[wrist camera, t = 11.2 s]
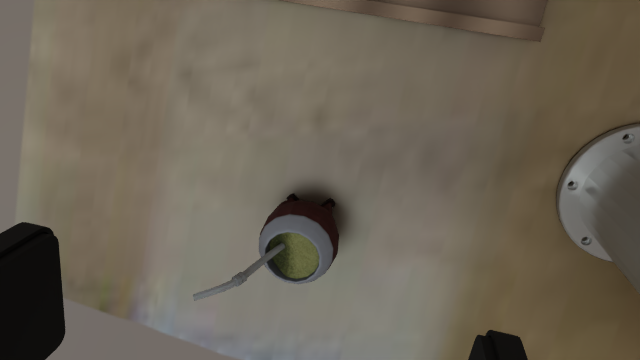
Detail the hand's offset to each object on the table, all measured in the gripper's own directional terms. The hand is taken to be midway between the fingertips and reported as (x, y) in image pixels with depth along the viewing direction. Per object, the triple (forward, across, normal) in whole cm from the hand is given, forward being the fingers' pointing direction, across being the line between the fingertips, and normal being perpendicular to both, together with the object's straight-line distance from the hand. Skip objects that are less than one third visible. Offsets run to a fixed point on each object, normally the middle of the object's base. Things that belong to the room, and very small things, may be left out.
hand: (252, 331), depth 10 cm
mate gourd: (+34, +4, +14) cm, 37 cm away
